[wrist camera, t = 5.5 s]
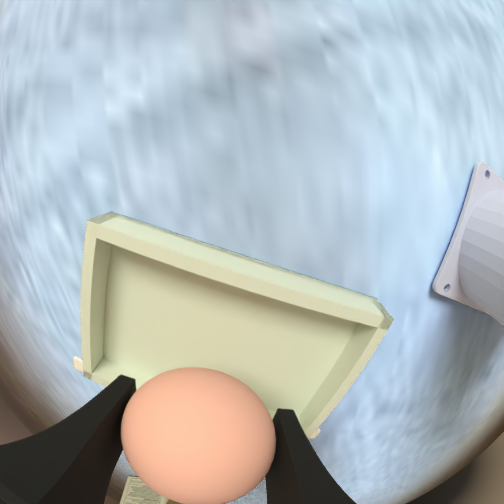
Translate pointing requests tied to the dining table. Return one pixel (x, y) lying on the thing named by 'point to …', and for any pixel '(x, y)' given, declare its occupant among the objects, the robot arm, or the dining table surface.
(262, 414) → the ball
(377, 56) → the dining table surface
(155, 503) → the skincare box
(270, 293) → the tray
